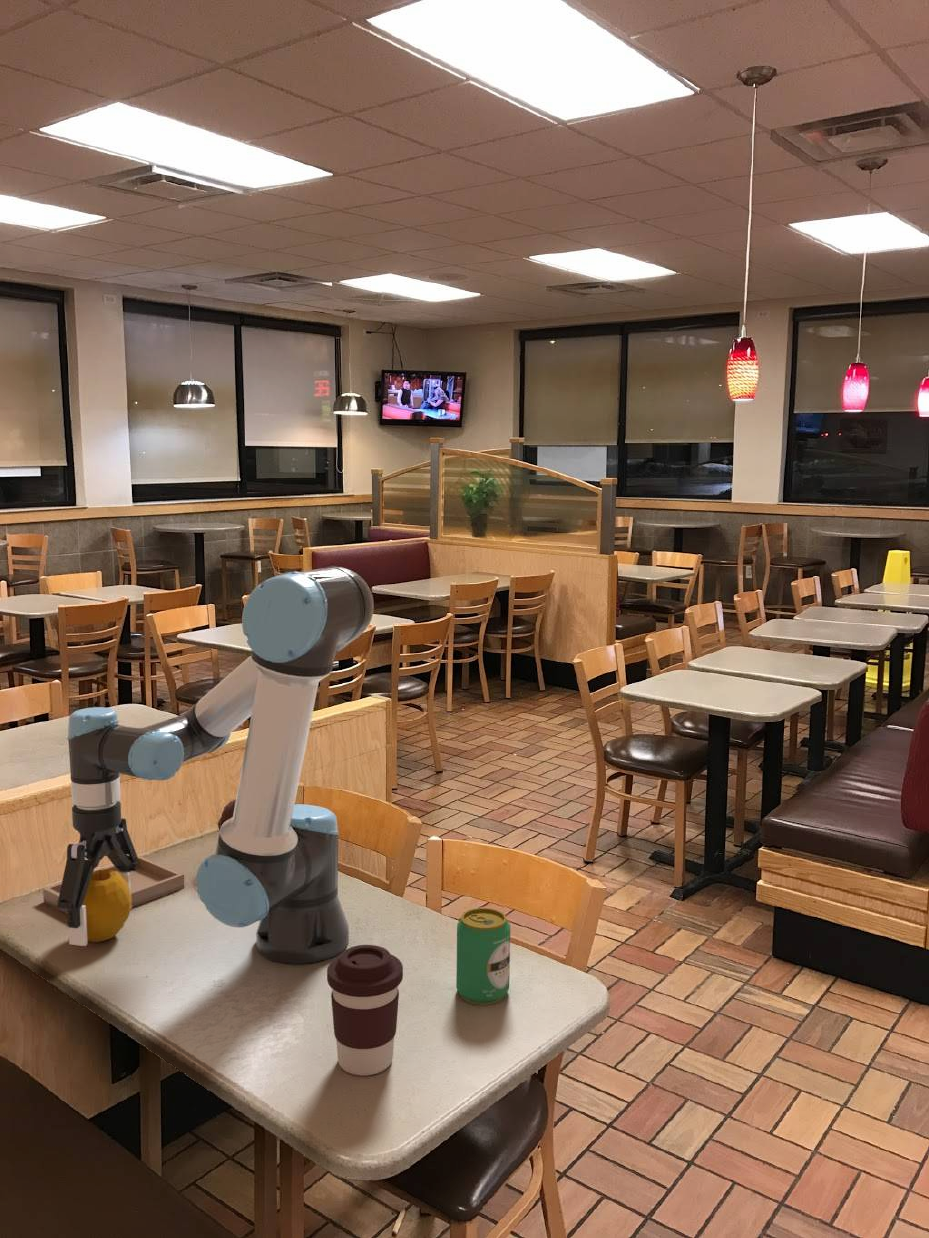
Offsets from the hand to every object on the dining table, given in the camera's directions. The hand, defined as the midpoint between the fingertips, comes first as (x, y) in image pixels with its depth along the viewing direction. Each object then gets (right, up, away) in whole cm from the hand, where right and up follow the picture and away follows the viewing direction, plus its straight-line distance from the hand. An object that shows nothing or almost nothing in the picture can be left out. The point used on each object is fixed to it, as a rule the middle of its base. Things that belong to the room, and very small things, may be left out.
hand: (101, 925), depth 169 cm
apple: (0, -2, 0) cm, 2 cm away
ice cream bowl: (+18, +2, +31) cm, 36 cm away
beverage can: (+63, -6, -15) cm, 65 cm away
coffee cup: (+47, -8, -33) cm, 58 cm away
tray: (-4, 0, +17) cm, 18 cm away
